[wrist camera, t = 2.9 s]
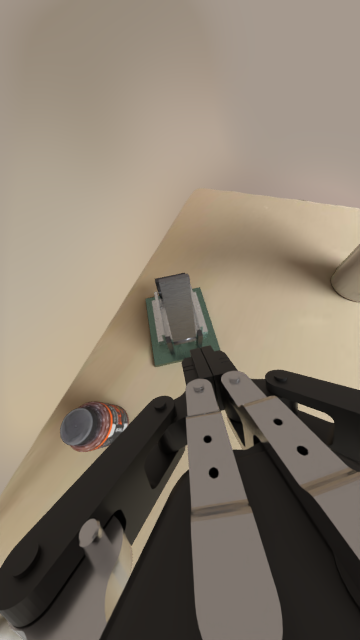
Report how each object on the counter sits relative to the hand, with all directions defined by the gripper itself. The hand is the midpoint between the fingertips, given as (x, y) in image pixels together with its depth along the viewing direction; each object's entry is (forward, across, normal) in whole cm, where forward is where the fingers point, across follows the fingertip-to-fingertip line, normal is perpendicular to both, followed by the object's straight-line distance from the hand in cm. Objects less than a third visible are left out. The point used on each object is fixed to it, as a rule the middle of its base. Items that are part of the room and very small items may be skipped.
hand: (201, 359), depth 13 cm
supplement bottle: (+15, +16, +18) cm, 28 cm away
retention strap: (+18, 0, +6) cm, 19 cm away
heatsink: (+27, 0, +6) cm, 27 cm away
